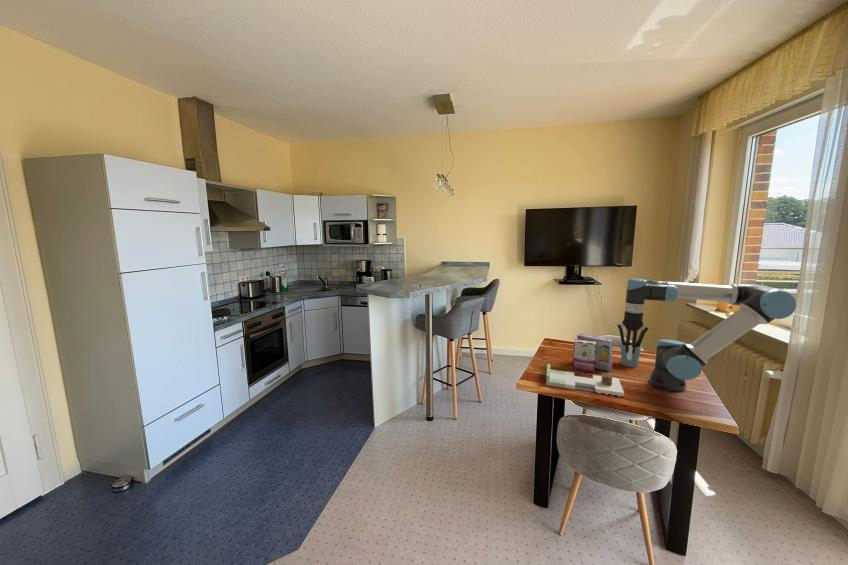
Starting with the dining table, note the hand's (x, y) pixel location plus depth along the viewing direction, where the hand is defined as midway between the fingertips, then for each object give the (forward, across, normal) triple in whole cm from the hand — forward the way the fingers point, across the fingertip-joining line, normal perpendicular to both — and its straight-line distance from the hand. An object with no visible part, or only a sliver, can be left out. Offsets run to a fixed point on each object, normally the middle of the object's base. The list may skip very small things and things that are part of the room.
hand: (629, 359), depth 164 cm
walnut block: (+14, -9, 0) cm, 16 cm away
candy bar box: (+16, -18, +20) cm, 31 cm away
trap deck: (+16, -19, 0) cm, 25 cm away
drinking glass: (+16, +7, +37) cm, 41 cm away
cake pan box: (+16, -13, +27) cm, 34 cm away
